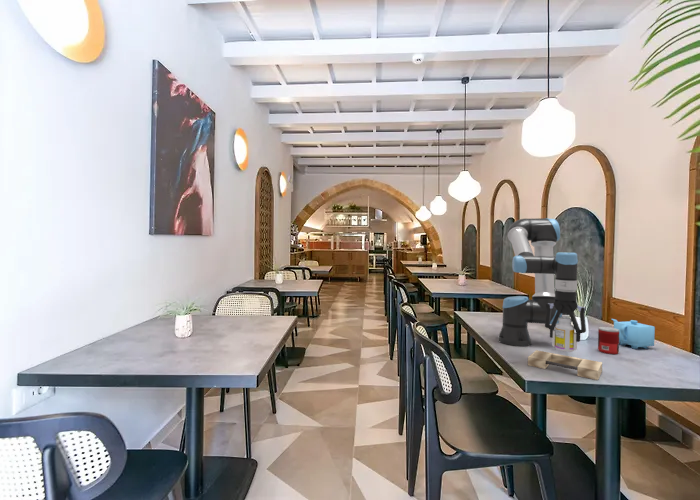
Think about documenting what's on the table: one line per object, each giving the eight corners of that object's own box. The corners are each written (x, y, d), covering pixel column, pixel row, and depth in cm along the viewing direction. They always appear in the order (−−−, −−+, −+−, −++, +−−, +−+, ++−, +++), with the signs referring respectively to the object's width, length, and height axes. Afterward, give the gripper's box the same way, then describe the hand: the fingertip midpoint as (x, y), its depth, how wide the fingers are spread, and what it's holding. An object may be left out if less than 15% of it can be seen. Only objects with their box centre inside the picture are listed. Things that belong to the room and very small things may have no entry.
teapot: (658, 348, 177) (658, 322, 176) (633, 350, 173) (634, 323, 173) (622, 339, 194) (622, 315, 194) (599, 340, 190) (599, 316, 190)
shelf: (527, 365, 149) (527, 356, 149) (535, 358, 159) (536, 350, 159) (597, 380, 134) (598, 370, 134) (602, 371, 143) (602, 362, 143)
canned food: (622, 355, 165) (622, 331, 165) (602, 353, 167) (603, 330, 167) (613, 350, 173) (614, 327, 173) (594, 349, 174) (595, 326, 174)
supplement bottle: (571, 348, 148) (572, 317, 148) (576, 353, 141) (576, 320, 141) (553, 347, 150) (554, 316, 150) (556, 351, 144) (557, 319, 143)
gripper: (536, 289, 149) (535, 344, 149) (593, 293, 136) (592, 354, 136) (541, 287, 155) (540, 341, 155) (596, 292, 142) (595, 350, 142)
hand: (564, 347), depth 146 cm, fingers closed on supplement bottle, 7 cm apart
